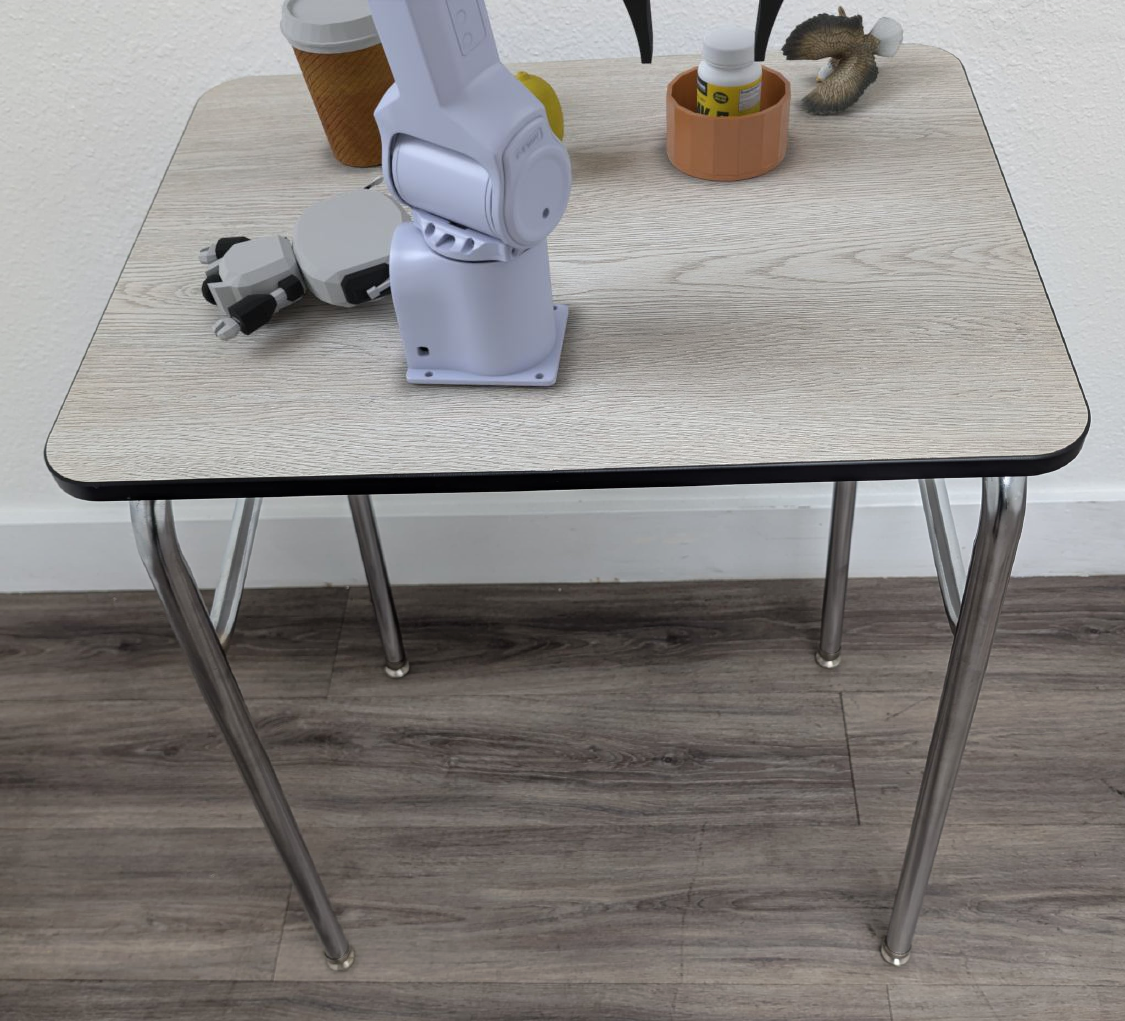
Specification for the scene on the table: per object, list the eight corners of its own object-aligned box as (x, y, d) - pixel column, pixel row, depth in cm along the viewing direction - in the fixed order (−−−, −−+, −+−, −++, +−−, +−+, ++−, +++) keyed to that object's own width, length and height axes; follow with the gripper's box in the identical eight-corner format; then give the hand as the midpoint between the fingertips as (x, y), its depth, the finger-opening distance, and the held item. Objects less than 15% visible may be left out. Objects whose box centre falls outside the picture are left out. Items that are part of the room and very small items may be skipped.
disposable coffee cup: (293, 171, 89) (252, 22, 81) (345, 115, 95) (311, -29, 87) (400, 183, 87) (369, 30, 78) (446, 125, 93) (422, -23, 84)
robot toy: (228, 379, 73) (444, 308, 74) (202, 325, 69) (428, 252, 71) (208, 280, 81) (403, 218, 83) (183, 227, 77) (387, 164, 79)
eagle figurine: (809, 43, 96) (758, 65, 90) (864, -24, 90) (815, -5, 84) (867, 108, 95) (820, 135, 90) (926, 45, 90) (881, 69, 84)
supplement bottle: (683, 145, 87) (684, 38, 81) (727, 123, 88) (730, 17, 82) (726, 166, 84) (730, 58, 78) (770, 144, 86) (777, 36, 80)
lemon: (533, 147, 89) (523, 49, 83) (581, 168, 86) (575, 68, 80) (482, 175, 87) (468, 76, 81) (531, 198, 84) (520, 97, 78)
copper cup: (664, 181, 84) (663, 119, 80) (670, 122, 90) (669, 62, 87) (787, 181, 83) (792, 118, 79) (784, 121, 89) (789, 60, 85)
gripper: (827, -191, 68) (807, 29, 78) (594, -180, 70) (603, 33, 80) (833, -156, 63) (811, 74, 73) (582, -145, 65) (594, 78, 75)
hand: (702, 56), depth 76 cm, fingers open, 7 cm apart
